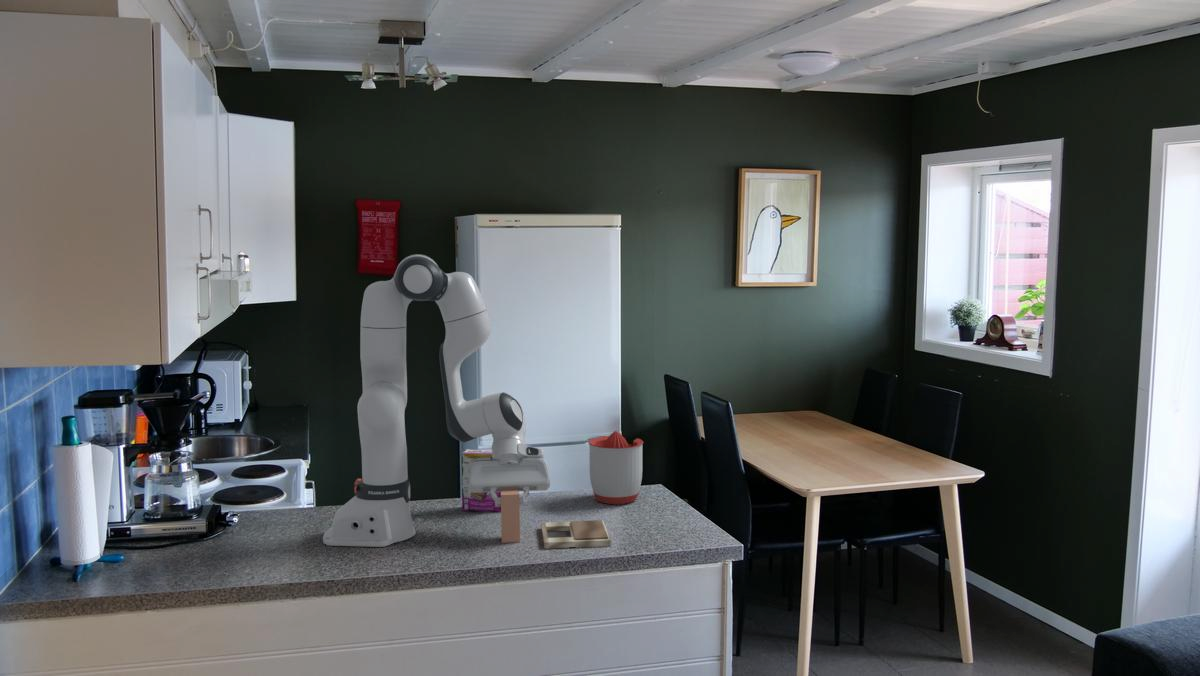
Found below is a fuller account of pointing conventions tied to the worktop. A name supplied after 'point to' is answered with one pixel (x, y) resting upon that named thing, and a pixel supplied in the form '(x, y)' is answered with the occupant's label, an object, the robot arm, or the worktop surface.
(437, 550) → the worktop surface
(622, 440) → the citrus juicer
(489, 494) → the candy bar box
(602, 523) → the hole board
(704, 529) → the worktop surface
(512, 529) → the terracotta block
